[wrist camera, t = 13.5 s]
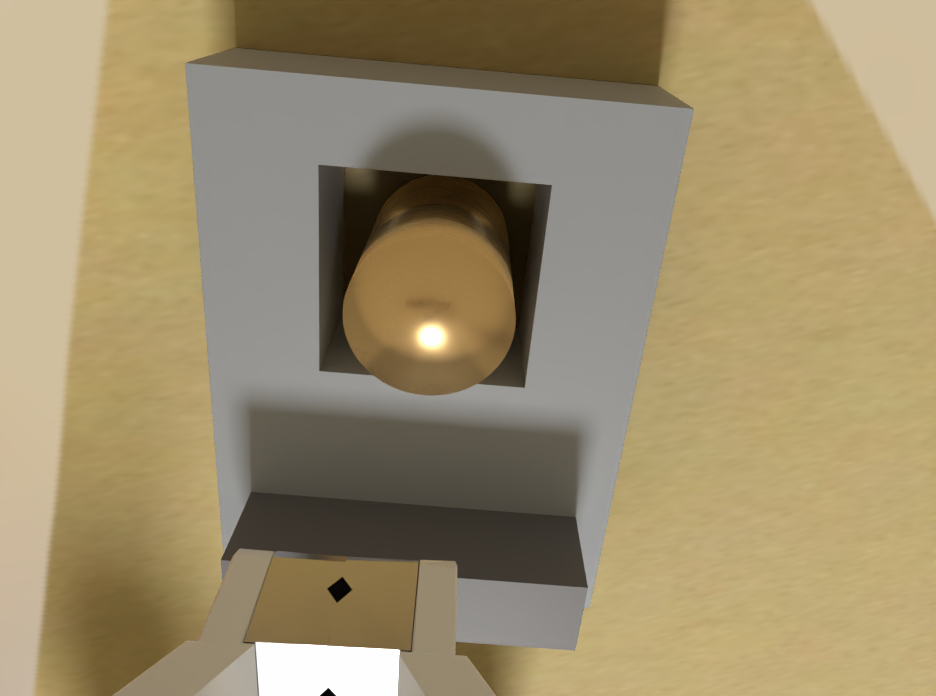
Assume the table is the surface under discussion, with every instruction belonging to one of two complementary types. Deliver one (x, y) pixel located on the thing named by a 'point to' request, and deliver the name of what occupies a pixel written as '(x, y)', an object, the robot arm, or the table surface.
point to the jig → (411, 415)
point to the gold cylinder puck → (433, 289)
